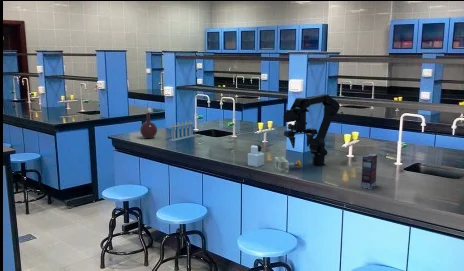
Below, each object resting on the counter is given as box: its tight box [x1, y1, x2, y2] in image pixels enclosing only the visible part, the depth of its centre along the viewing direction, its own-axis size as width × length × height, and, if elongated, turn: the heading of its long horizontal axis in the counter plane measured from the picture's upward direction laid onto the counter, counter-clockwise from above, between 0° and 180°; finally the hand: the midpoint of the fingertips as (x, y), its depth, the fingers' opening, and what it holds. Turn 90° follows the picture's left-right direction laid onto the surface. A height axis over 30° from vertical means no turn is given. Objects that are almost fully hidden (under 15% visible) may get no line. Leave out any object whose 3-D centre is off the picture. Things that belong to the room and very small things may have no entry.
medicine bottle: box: [247, 144, 265, 168], centre depth 246 cm, size 7×7×12 cm
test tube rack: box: [168, 120, 196, 142], centre depth 328 cm, size 25×4×13 cm, turn 142°
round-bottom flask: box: [139, 112, 158, 139], centre depth 328 cm, size 13×13×20 cm
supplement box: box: [360, 152, 378, 190], centre depth 204 cm, size 9×5×16 cm, turn 144°
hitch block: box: [273, 156, 290, 174], centre depth 236 cm, size 5×12×6 cm, turn 9°
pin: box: [289, 159, 302, 169], centre depth 237 cm, size 12×4×4 cm, turn 99°
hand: (300, 147), depth 238 cm, fingers open, 9 cm apart
